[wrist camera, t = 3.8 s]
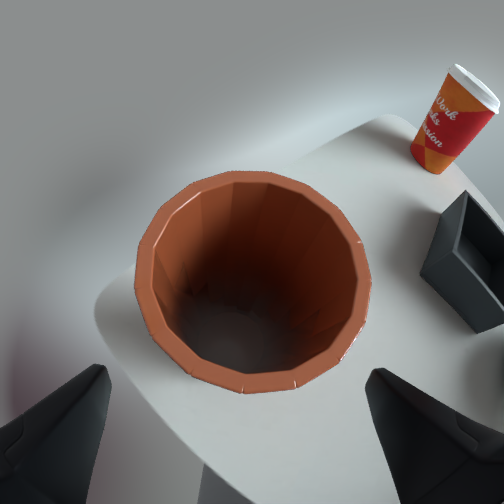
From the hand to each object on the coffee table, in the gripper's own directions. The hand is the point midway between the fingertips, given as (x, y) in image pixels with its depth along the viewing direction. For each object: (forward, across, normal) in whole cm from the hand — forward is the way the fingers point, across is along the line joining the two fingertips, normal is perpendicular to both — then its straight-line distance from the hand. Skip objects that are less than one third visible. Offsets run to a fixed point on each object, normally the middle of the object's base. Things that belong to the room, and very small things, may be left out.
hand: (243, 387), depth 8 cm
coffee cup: (+26, -26, -11) cm, 39 cm away
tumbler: (+9, 0, +6) cm, 11 cm away
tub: (+14, -25, +1) cm, 28 cm away
